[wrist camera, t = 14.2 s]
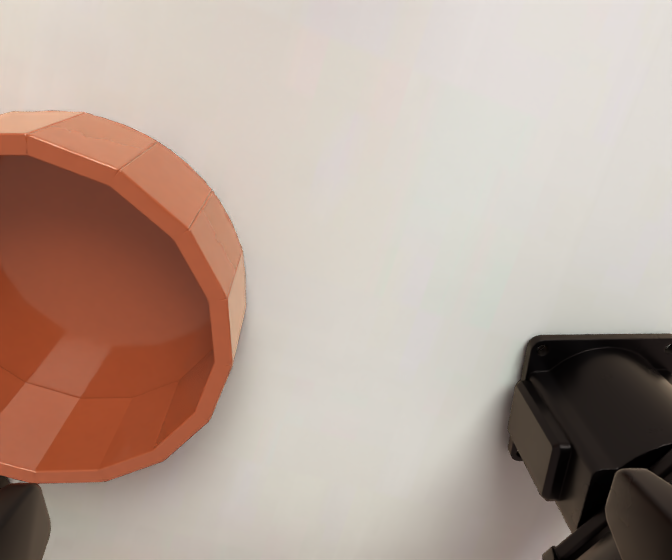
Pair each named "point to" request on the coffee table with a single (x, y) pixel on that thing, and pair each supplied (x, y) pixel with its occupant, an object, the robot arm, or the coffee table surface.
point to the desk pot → (107, 299)
